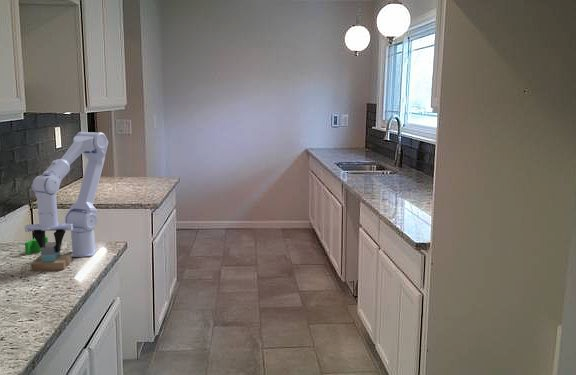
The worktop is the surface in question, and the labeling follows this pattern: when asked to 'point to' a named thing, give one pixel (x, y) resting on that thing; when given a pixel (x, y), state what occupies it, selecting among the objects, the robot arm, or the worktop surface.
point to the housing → (49, 252)
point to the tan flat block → (52, 263)
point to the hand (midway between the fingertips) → (51, 251)
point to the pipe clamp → (33, 246)
